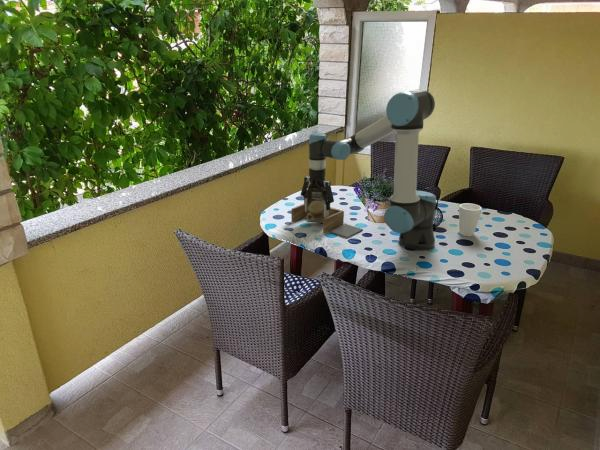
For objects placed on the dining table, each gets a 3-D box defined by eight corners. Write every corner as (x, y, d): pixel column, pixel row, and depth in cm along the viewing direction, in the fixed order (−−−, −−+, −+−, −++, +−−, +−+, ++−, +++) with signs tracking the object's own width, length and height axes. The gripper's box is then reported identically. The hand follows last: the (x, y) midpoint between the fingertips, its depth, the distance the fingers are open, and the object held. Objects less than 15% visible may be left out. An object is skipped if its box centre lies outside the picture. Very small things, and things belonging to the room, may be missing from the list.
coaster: (362, 230, 210) (362, 229, 209) (347, 238, 201) (347, 236, 201) (345, 225, 216) (345, 223, 215) (329, 232, 207) (329, 230, 207)
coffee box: (306, 222, 213) (306, 189, 207) (307, 217, 219) (307, 185, 213) (326, 223, 212) (326, 190, 206) (326, 218, 218) (327, 186, 212)
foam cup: (478, 238, 203) (483, 211, 198) (456, 236, 205) (461, 209, 200) (475, 230, 211) (479, 204, 206) (454, 228, 213) (458, 202, 208)
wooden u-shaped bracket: (343, 224, 216) (343, 211, 213) (324, 233, 206) (325, 219, 203) (310, 214, 228) (310, 201, 226) (291, 222, 218) (291, 208, 216)
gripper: (342, 170, 201) (341, 217, 210) (303, 162, 216) (303, 206, 224) (332, 174, 196) (331, 221, 204) (292, 165, 210) (293, 210, 218)
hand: (316, 213), depth 214 cm, fingers closed on coffee box, 11 cm apart
